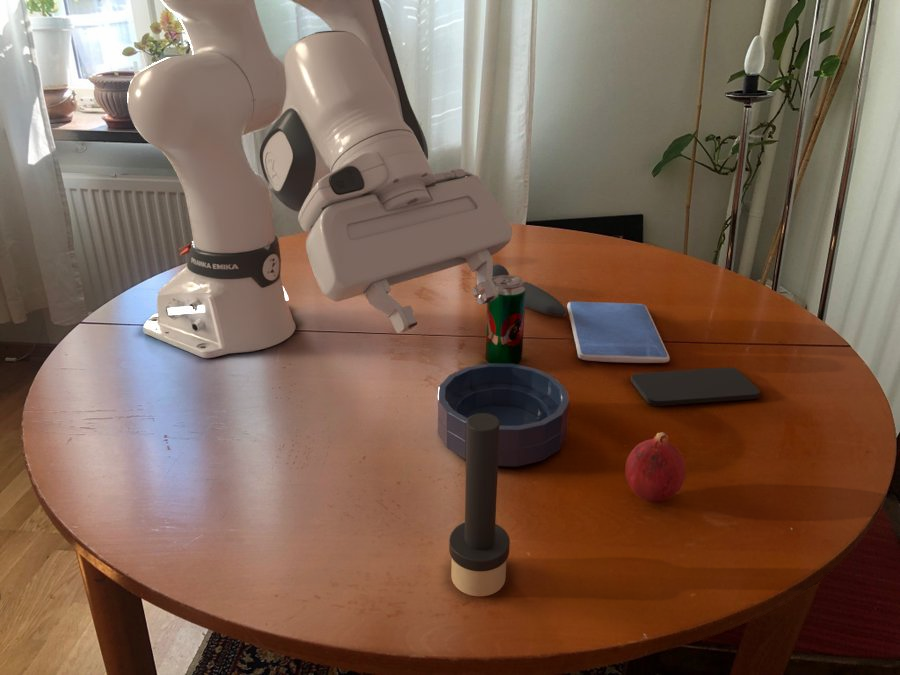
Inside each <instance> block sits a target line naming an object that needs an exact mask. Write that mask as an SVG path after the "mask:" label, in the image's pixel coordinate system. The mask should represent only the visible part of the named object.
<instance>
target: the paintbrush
mask: <svg viewBox="0 0 900 675" xmlns="http://www.w3.org/2000/svg"><path fill="white" fill-rule="evenodd" d="M500 275H510V272H509V270H508V268H506V267H505V266H504V265H501V264H499V263H493V275H492V278H493V277H495V276H500ZM523 285H524V286H525V288H526V295H525V308H527V309H530V310H532V311H535V312H537V313H542V314H545V315H549V316H553V317H562V316H565V315H567V312H568V311H567V308H566V307H565V305H563V303H561V302H560V301H559V300H558V299H556V297H554V296H553V295H551V294H550V293H549V292H547V291H545V290H543V289H542V288H540V287H538V286H536V285H534V284H533V283H530V282H528V281H524V280H523Z"/></svg>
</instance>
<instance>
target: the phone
mask: <svg viewBox="0 0 900 675" xmlns="http://www.w3.org/2000/svg"><path fill="white" fill-rule="evenodd" d="M630 382H631V384H632V385H633V387H635V389H636V390H637V392H638V393H639V394H640V395H641V397H642V398H643V399H644V400H645V402H646V403H647V404H649V405H651V406H654V407H664V406H665V407H666V406H677V405H678V406H679V405H690V404H691V405H692V404H705V403H719V402H720V403H721V402H732V401H746V400H756V399H758V398H760V395H761V390H760V389H759V388H758V387H757V386H756V385H755V384H754V383H753V382H751V381H750V380H749V379H748V378H747V376H746V375H744V373H742V372H741V371H740V370H738V369H737V368H735V367H731V366H730V367H729V366H728V367H727V366H726V367H710V368H697V369H682V370H681V369H680V370H664V371H648V372H636V373H633V374H631V378H630Z"/></svg>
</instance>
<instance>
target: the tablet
mask: <svg viewBox="0 0 900 675" xmlns="http://www.w3.org/2000/svg"><path fill="white" fill-rule="evenodd" d="M566 309H567V312H568V315H569V320H570V325H571V328H572V335H573V339H574V344H575V348H576V353H577V357H578V359H580V360H582V361H588V362H589V361H591V362H602V363H603V362H604V363H625V364H627V363H628V364H664V363H669V362H670V360H671V358H670V354H669V352H668V351H667V348H666V346H665V344H664V342H663V340H662V337H661V335H660V333H659V330H658V328H657V326H656V324H655V321H654V319H653V318H652V315H651V313H650V311H649V308H648V306H647V305H645V304H643V303H629V302H628V303H627V302H626V303H625V302H624V303H623V302H621V303H620V302H599V301H598V302H597V301H569V302H568V303H567V304H566Z"/></svg>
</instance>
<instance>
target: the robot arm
mask: <svg viewBox="0 0 900 675" xmlns="http://www.w3.org/2000/svg"><path fill="white" fill-rule="evenodd" d="M160 1H161V2H162V4H163V5H164V6H165V7H166V8H167V9H168V10H169V11H170V12H172V13H173V14H174V15H175V16H176V17H177V18H178V20H179V22H180V23H181V25H182V27H183V29H184V31H185V33H186V35H187V38H188V42H189V44H190V48H191V52H192V53H189V54H182V55H173V56H168V57H165V58H162V59H161V60H159V61H157V62H154V63H152V64H151V65H149V66H147V67H145V68H143V69H141V70H140V71H138V72H137V73H136V74H135V75H134V76H133V78H132V79H131V81H130V84H129V86H128V90H127V96H126V98H127V99H126V100H127V110H128V113H129V117H130V120H131V121H132V124H133V126H134V127H135V129H136V130H137V132H138V133H139V135H140V136H141V137H142V138H143V139H144V140H145V141H147V143H148V144H150V145H151V146H153V147H155V148H156V149H157V150H159V151H160V152H161V153H162V154H163V155H164V156H165V157H166V158H167V160H168V161H169V163H170V164H171V166H172V168H173V169H174V171H175V173H176V175H177V177H178V179H179V182H180V184H181V188H182V190H183V193H184V196H185V201H186V206H187V212H188V218H189V222H190V228H191V235H192V241H190V242H189V243H188V244H185V245H184V246H181V247H179V248H178V250H182V251H181V252H180V253H179V256H185V255H186V254H188V256H187V262H186V266H185V267H184V268H182V269H181V270H180V271H179V272H178V273H176V275H174V276H173V277H171V279H169V280H167V282H166V283H165V284H163V285H162V287H160V289H159V291H158V293H157V297H156V298H157V299H156V310H157V312H156V313H154V314H153V315H152V316H150V317H149V318H148V319H147V320H146V321H145V322H144V324H143V326H142V332H143V334H146V335H147V336H150V337H151V338H155V339H157V340H159V341H162V342H163V343H164V342H165V343H167V344H169V345H171V346H174V347H176V348H178V349H181V350H183V351H185V352H188V353H190V354H192V355H196V356H198V357H200V358H203V359H211V358H217V357H220V356H225V355H228V354H238V353H250V352H256V351H260V350H264V349H268V348H271V347H274V346H276V345H278V344H281V343H283V342H285V341H286V340H288V339H289V338H290V337H291V336H293V334H294V333H295V331H296V328H297V326H296V323H295V320H294V318H293V316H292V313H291V311H290V308H289V303H288V301H289V295H288V294H287V291H286V290H285V287H284V286H283V281H282V277H281V271H282V270H281V269H282V267H281V265H282V259H281V258H282V257H281V248H280V243H279V237H278V236H277V235H276V232H275V222H274V214H273V213H274V212H273V203H272V194H273V195H274V196H275V197H276V198H277V200H278V201H280V203H281V204H283V205H284V207H287V208H289V209H290V210H291V211H294V212H298V216H297V221H298V223H299V225H300V227H301V229H302V230H303V231H304V232H305V233H308V235H307V236H306V240H305V251H306V254H307V257H308V261H309V265H310V267H311V270H312V272H313V275H314V278H315V280H316V283H317V285H318V287H319V289H320V291H321V292H322V294H323V295H324V296H326V297H327V298H328V299H330V300H332V301H334V302H336V303H337V302H341V301H345V300H348V299H351V298H354V297H358V296H362V295H365V297H366V298H367V301H368V303H369V305H371V306H372V307H373V308H374V309H376V310H377V311H378V312H380V313H381V314H383V315H384V316H385V317H386V318H389V320H390V322H391V325H392V327H393V328H394V330H395V333H397V334H401V333H405V332H407V331H410V330H412V329H414V328H415V327H416V326H417V325H418V318H417V316H416V315H415V314H414V310H413V308H412V306H411V304H410V305H406V306H403V305H401V304H400V303H399V302H398V301H397V300H395V298H393V297H392V296H391V295H390V294H389V293H391V291H392V288H391V286H395V285H398V284H401V283H404V282H407V281H411V280H414V279H417V278H420V277H424V276H427V275H431V274H434V273H437V272H441V271H444V270H447V269H451V268H453V267H458V266H461V265H463V264H467V265H468V268H469V269H470V272H476V285H475V286H474V287H472V289H471V290H470V291H471V292H472V296H473V297H474V298H475V301H476V303H477V304H478V305H479V306H481V305H484V304H487V303H488V302H491V301H493V300H494V299H495V298H497V297H498V291H497V289H496V287H495V285H494V283H493V281H492V275H493V264H494V259H493V257H492V256H494V255H496V254H498V253H499V252H500V251H502V249H504V248H505V247H506V246H507V245H508V244H509V243H510V242H511V240H512V234H513V228H512V225H511V224H510V222H509V220H508V218H507V217H506V216H505V214H504V212H503V210H502V209H501V207H500V205H499V204H498V203H497V201H496V199H495V198H494V197H493V196H492V194H491V192H490V191H489V190H488V189H487V188H486V186H485V185H484V183H483V182H482V180H481V178H480V177H479V176H477V175H476V174H473V173H471V172H468V171H465V170H464V169H463V168H455V169H452V170H450V171H445V172H436V173H435V172H434V170H433V168H432V166H431V164H430V162H429V149H428V143H427V140H426V137H425V133H424V131H423V129H422V126H421V124H420V122H419V121H418V118H417V116H416V114H415V112H414V110H413V107H412V105H411V102H410V100H409V97H408V94H407V89H406V87H405V84H404V80H403V77H402V73H401V70H400V66H399V63H398V59H397V56H396V52H395V49H394V46H393V43H392V42H393V41H392V39H391V35H390V32H389V28H388V25H387V21H386V18H385V14H384V12H383V8H382V4H381V2H380V0H289V1H290V2H293V3H294V4H297V5H298V6H301V7H302V8H304V9H306V10H308V11H309V12H311V13H312V14H314V15H316V16H317V17H318V18H320V20H322V21H323V22H324V23H325V24H326V25H327V26H328V27H329V28H330V30H322V31H317V32H316V31H315V32H314V33H311V34H309V35H307V36H306V35H305V36H304V37H302V38H300V39H298V40H297V41H296V42H295V43H294V44H292V45H291V46H290V47H289V48H288V50H287V51H286V53H285V56H284V59H283V62H282V61H281V60H280V59H279V58H278V57H277V56H276V54H275V53H274V52H273V51H272V49H271V47H270V44H269V41H268V40H267V39H268V38H267V37H266V33H265V32H264V29H263V26H262V23H261V19H260V16H259V14H258V10H257V6H256V1H255V0H160ZM271 125H273V126H272V127H270V130H269V131H268V133H267V134H266V136H265V137H264V139H263V141H262V143H261V146H260V149H259V163H260V167H261V170H262V173H263V175H261V173H258V172H257V171H255V170H254V169H253V167H252V166H251V163H250V162H249V160H248V157H247V154H246V152H245V148H244V144H243V137H244V136H247V135H250V134H253V133H257V132H261V131H263V130H265V129H267V128H269V126H271ZM271 192H272V194H271Z"/></svg>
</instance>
